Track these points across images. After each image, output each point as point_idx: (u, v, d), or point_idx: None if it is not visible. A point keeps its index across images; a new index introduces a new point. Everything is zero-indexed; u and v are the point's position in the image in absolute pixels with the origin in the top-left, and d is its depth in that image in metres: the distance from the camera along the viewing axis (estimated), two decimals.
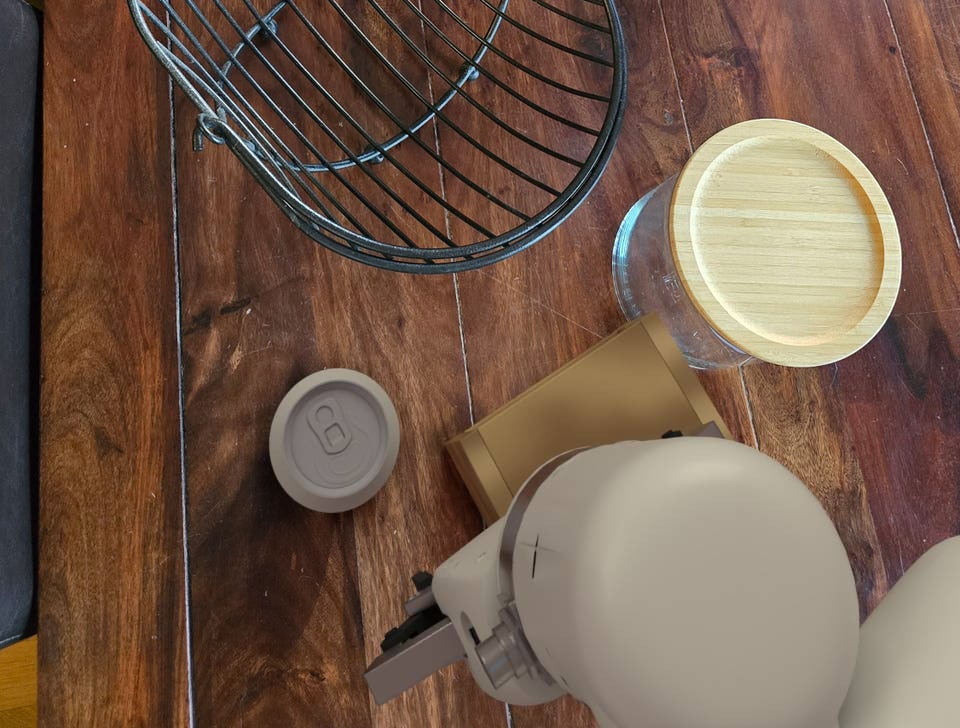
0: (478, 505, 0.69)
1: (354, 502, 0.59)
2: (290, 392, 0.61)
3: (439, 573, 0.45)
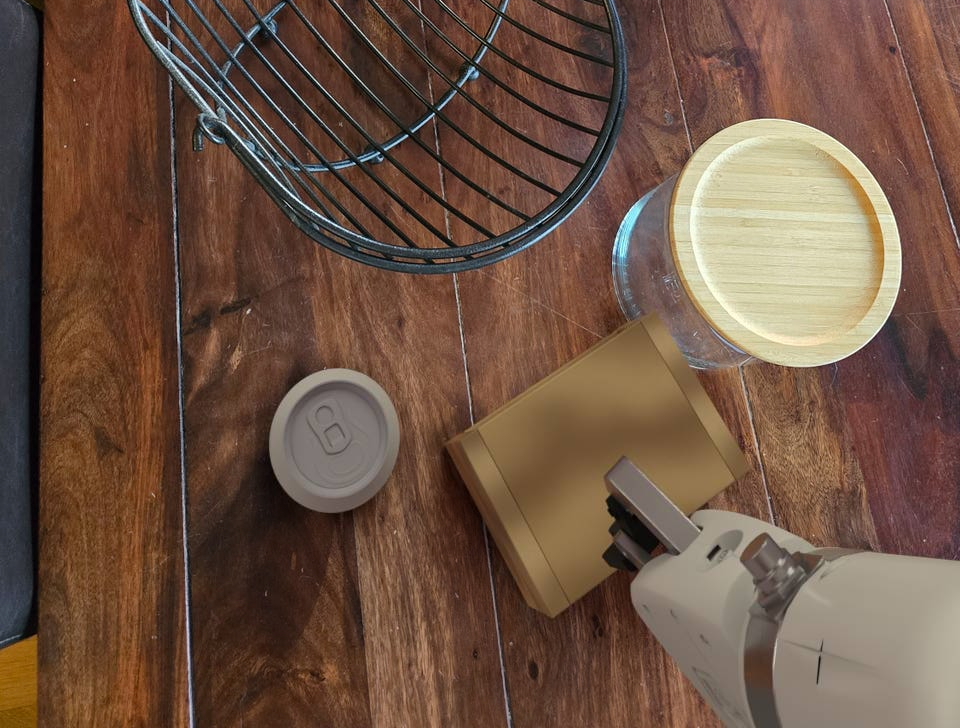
0: (478, 505, 0.68)
1: (353, 502, 0.59)
2: (290, 392, 0.61)
3: None
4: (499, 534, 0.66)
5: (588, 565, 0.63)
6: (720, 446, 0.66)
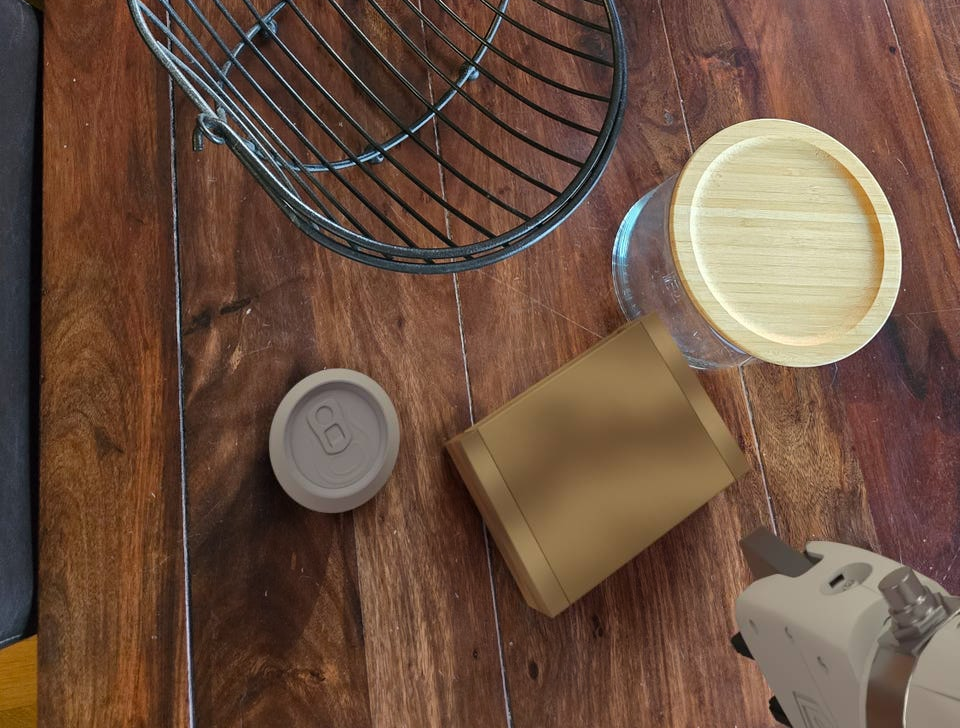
0: (478, 505, 0.69)
1: (353, 502, 0.59)
2: (290, 392, 0.61)
3: None
4: (499, 534, 0.66)
5: (588, 565, 0.63)
6: (720, 446, 0.66)
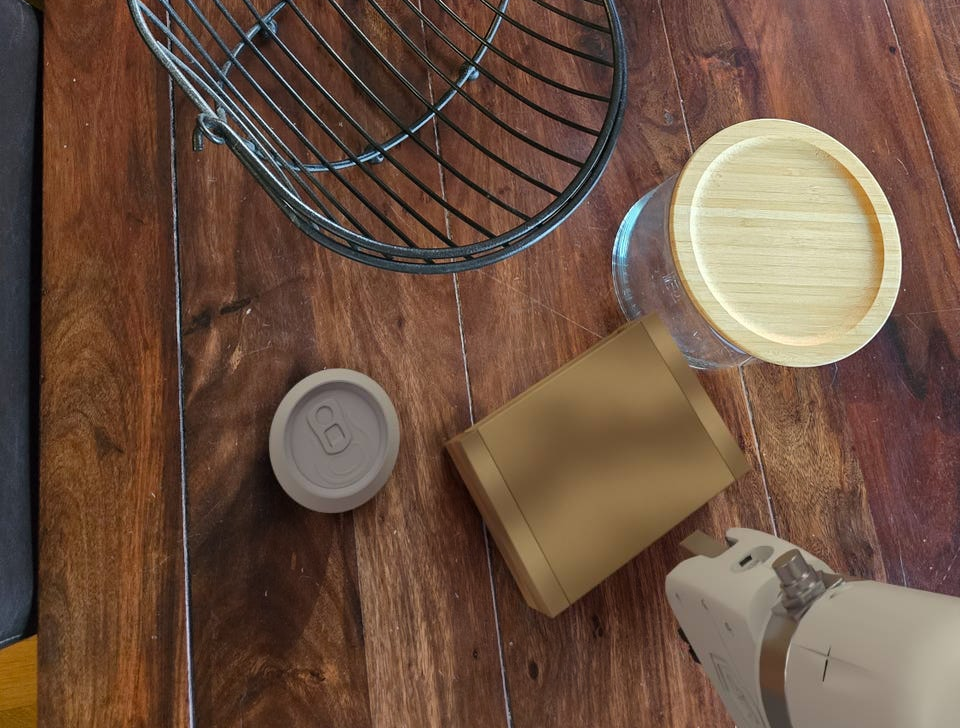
0: (478, 505, 0.68)
1: (353, 502, 0.59)
2: (290, 392, 0.61)
3: None
4: (499, 534, 0.66)
5: (588, 565, 0.63)
6: (720, 447, 0.66)
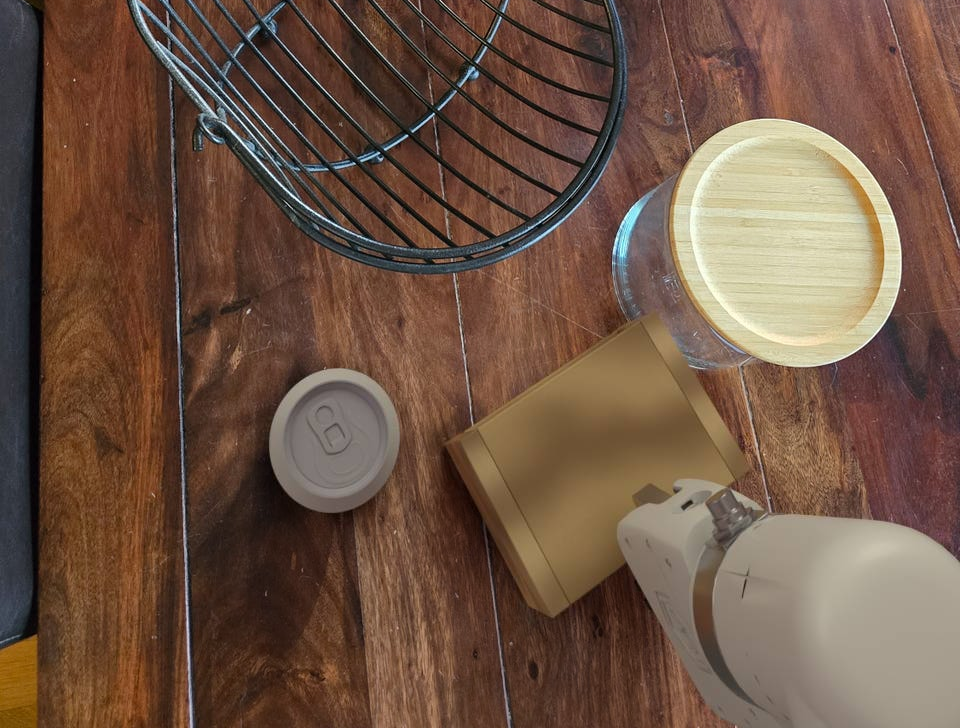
0: (478, 505, 0.69)
1: (353, 502, 0.59)
2: (290, 392, 0.61)
3: None
4: (499, 534, 0.66)
5: (588, 565, 0.63)
6: (720, 446, 0.66)
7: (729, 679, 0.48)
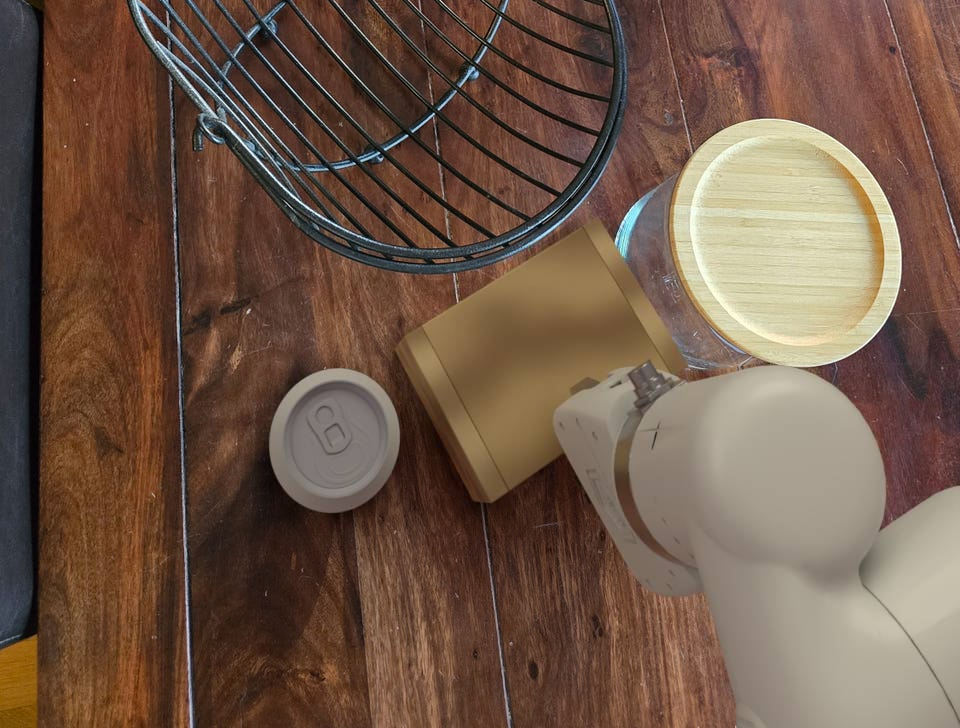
0: (425, 405, 0.71)
1: (353, 502, 0.59)
2: (290, 392, 0.61)
3: None
4: (443, 429, 0.68)
5: (527, 454, 0.65)
6: (658, 345, 0.69)
7: (644, 532, 0.50)
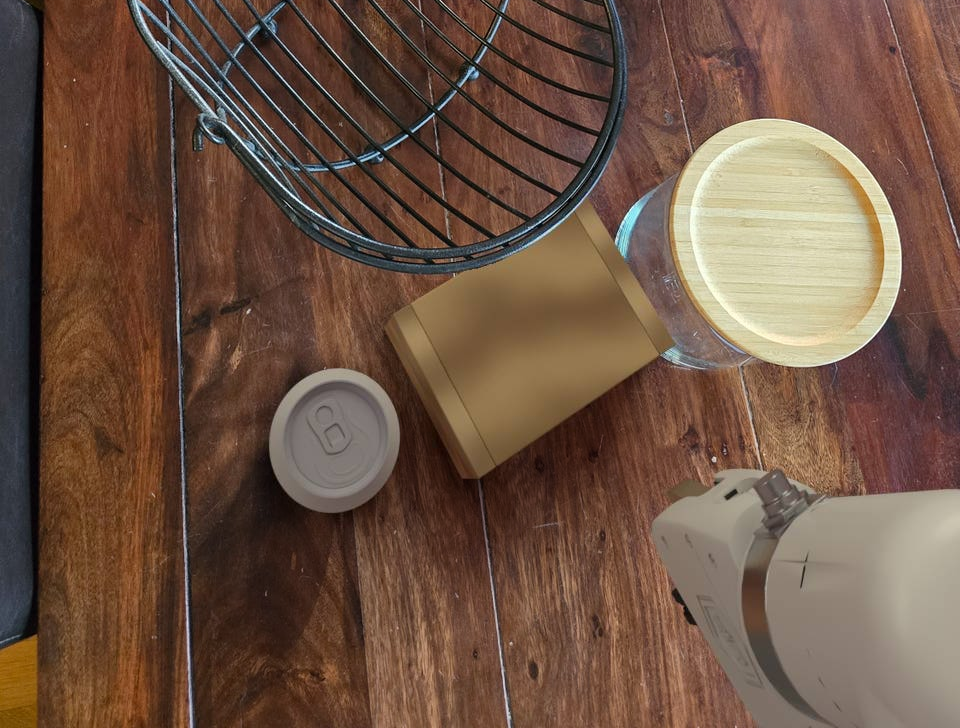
0: (414, 383, 0.71)
1: (353, 502, 0.59)
2: (290, 392, 0.61)
3: None
4: (432, 406, 0.68)
5: (514, 430, 0.65)
6: (645, 324, 0.69)
7: (787, 687, 0.41)
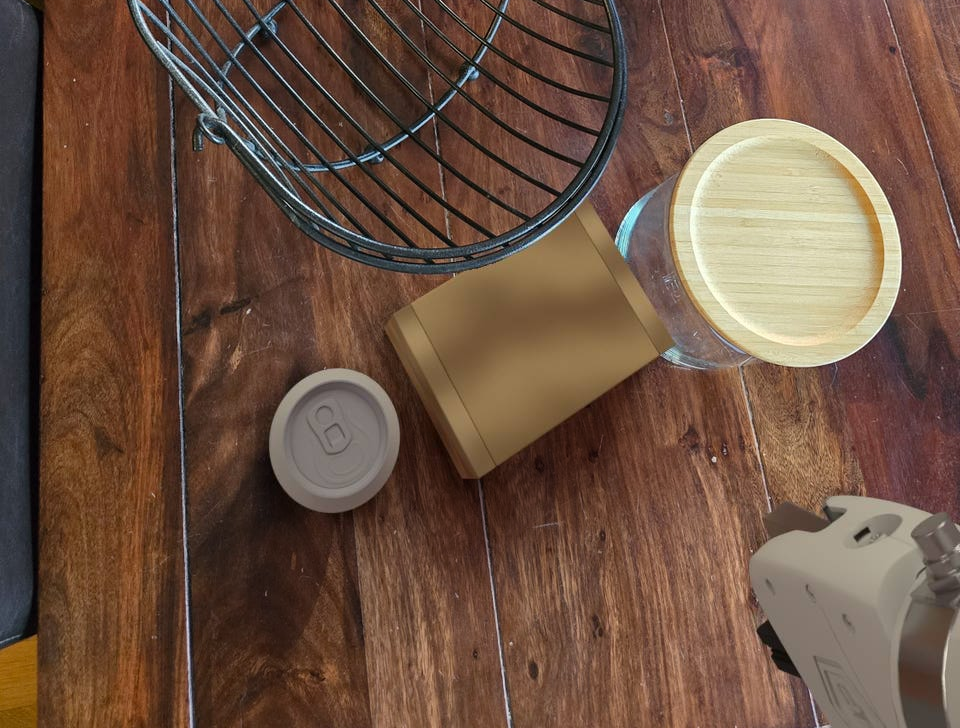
0: (414, 383, 0.71)
1: (353, 502, 0.59)
2: (290, 392, 0.61)
3: None
4: (432, 406, 0.68)
5: (514, 430, 0.65)
6: (645, 324, 0.69)
7: None
